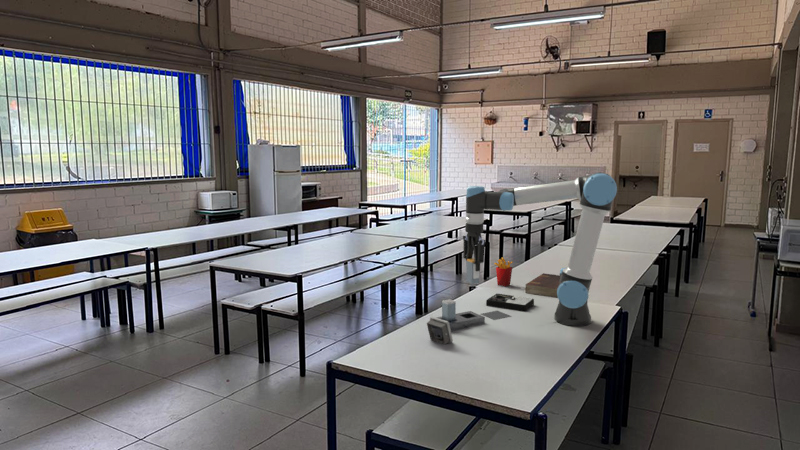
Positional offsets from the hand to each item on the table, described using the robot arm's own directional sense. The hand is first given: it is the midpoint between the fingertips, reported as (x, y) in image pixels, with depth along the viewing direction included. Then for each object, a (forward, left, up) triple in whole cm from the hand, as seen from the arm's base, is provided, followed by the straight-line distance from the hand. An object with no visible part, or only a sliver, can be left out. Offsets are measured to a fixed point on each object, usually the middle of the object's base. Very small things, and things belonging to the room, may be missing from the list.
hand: (472, 276), depth 229 cm
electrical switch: (-14, +26, -20) cm, 36 cm away
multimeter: (+9, -29, -20) cm, 36 cm away
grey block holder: (-1, +8, -19) cm, 21 cm away
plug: (0, 0, -2) cm, 2 cm away
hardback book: (+21, -68, -20) cm, 74 cm away
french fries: (+41, -51, -20) cm, 68 cm away
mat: (0, -13, -19) cm, 23 cm away
